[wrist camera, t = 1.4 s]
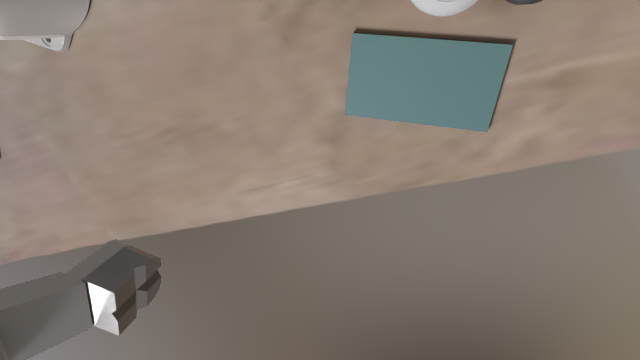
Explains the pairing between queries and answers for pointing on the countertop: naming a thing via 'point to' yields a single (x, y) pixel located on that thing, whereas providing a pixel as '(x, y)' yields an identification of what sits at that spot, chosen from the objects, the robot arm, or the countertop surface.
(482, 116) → the mat
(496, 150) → the countertop surface
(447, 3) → the supplement bottle
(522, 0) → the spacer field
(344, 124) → the countertop surface
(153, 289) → the robot arm
